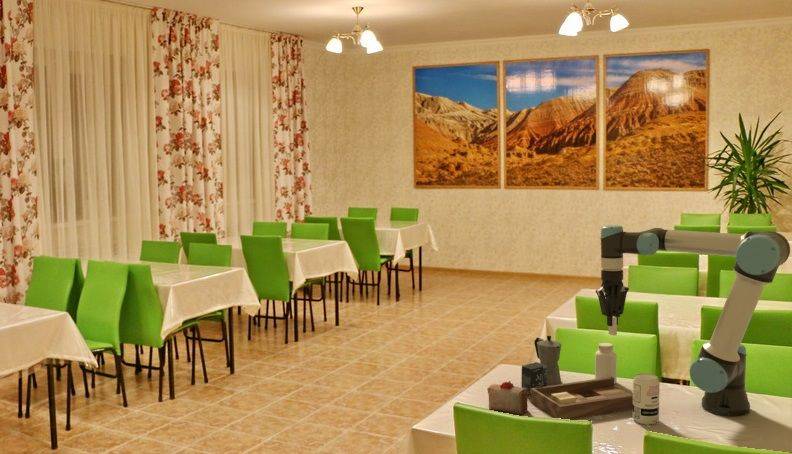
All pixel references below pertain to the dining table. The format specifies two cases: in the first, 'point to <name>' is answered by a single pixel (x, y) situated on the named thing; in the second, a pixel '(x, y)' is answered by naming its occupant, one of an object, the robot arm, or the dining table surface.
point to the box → (534, 376)
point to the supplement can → (646, 398)
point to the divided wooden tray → (583, 399)
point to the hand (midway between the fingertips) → (612, 334)
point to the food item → (508, 398)
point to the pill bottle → (605, 362)
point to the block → (563, 398)
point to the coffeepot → (549, 358)
